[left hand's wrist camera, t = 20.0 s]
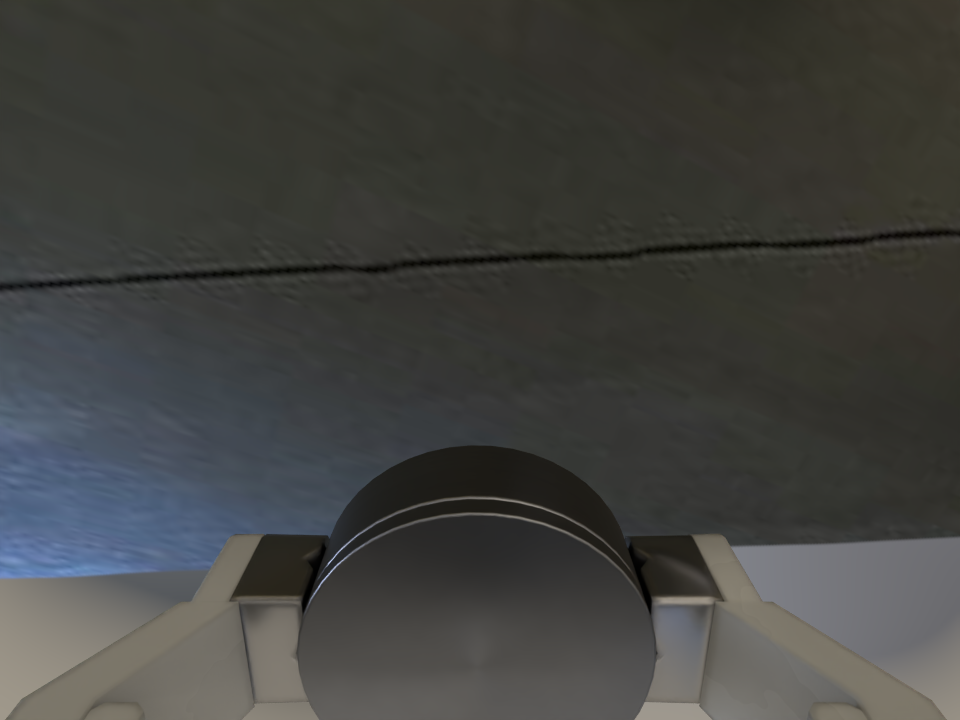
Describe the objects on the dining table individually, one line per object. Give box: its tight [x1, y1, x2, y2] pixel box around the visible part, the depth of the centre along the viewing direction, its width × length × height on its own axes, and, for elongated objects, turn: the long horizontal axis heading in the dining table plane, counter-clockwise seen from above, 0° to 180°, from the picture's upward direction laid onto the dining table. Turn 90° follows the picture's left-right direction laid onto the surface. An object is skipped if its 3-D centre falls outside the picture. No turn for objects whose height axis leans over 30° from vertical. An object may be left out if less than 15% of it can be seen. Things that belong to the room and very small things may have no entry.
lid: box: [297, 445, 656, 720], centre depth 10 cm, size 5×5×2 cm
